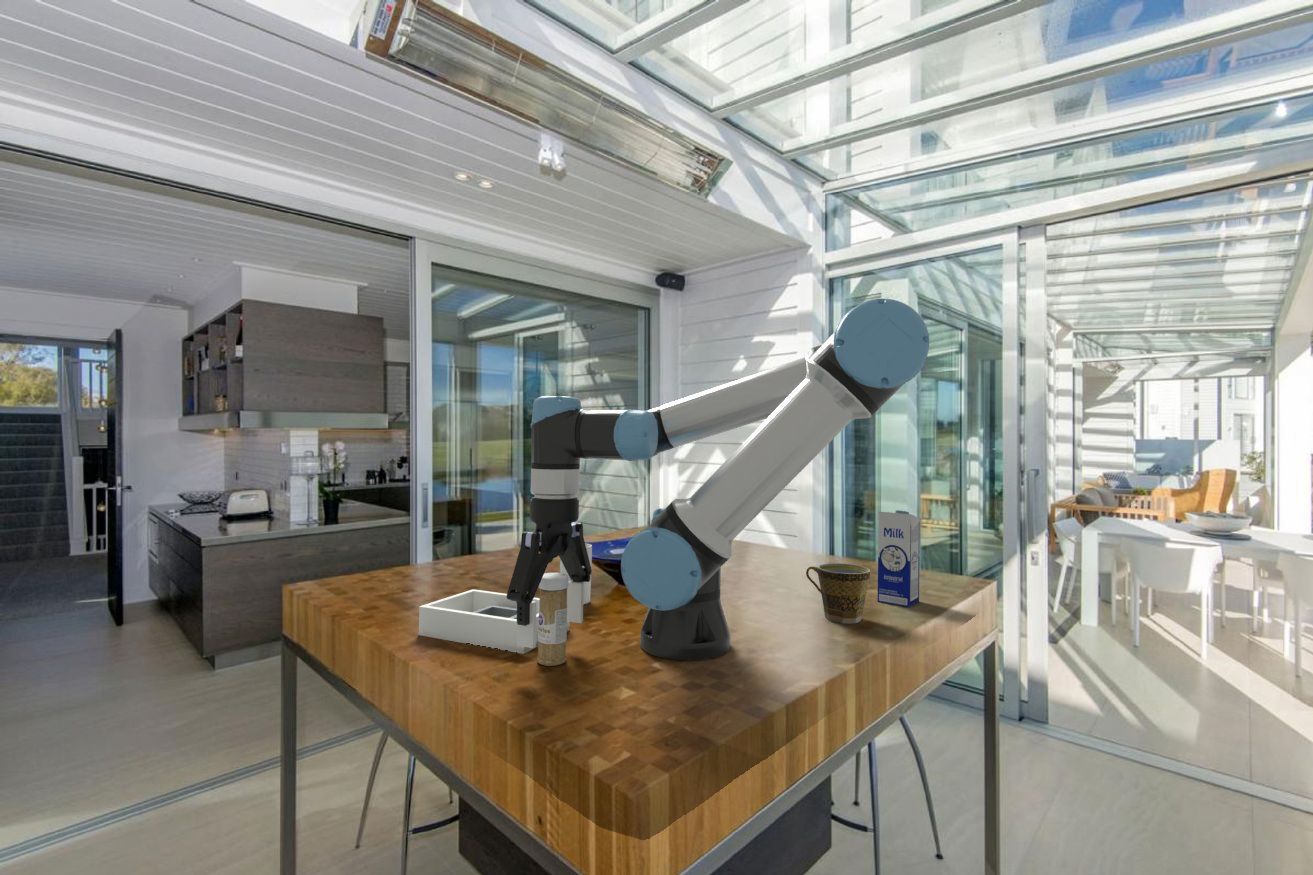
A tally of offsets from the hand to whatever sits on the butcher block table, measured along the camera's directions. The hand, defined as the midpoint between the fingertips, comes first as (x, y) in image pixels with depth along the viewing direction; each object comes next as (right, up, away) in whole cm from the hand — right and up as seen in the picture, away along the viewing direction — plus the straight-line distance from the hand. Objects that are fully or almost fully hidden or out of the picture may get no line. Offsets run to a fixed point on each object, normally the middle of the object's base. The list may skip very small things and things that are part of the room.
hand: (552, 633), depth 95 cm
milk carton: (+69, -6, +40) cm, 80 cm away
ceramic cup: (+52, -6, +27) cm, 58 cm away
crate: (-12, -4, +14) cm, 19 cm away
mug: (-1, -5, +38) cm, 38 cm away
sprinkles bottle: (0, -5, 0) cm, 5 cm away
